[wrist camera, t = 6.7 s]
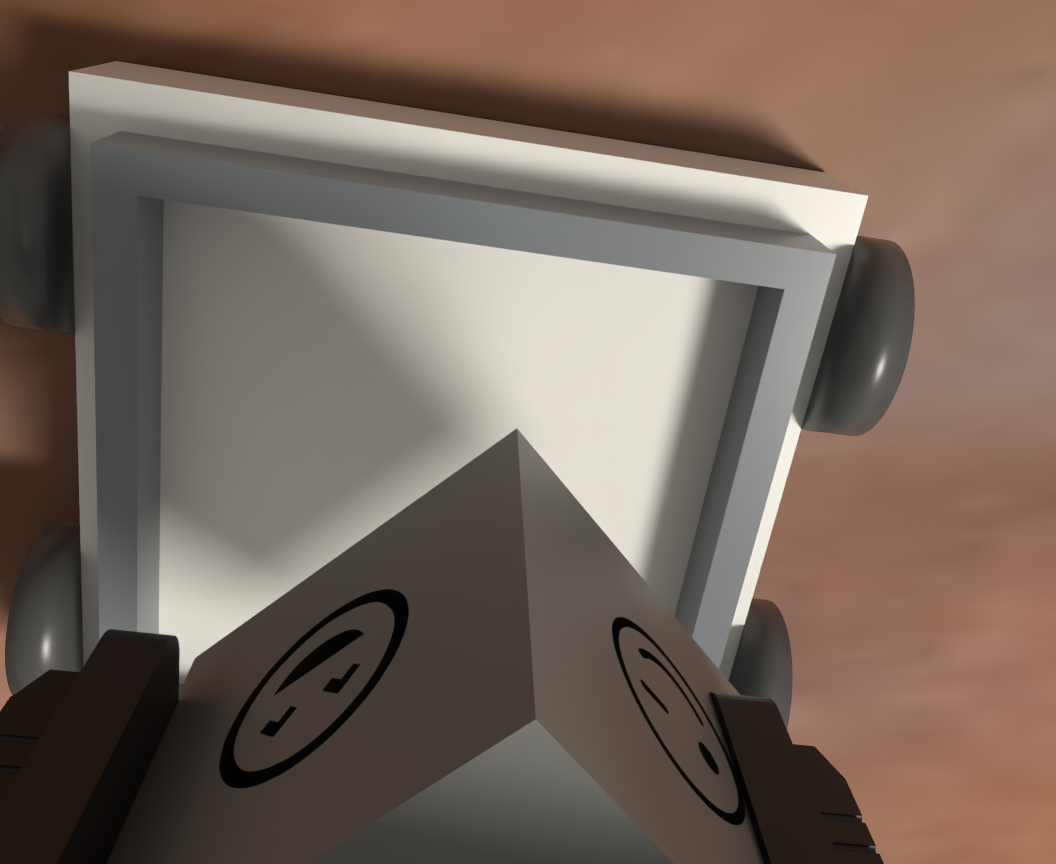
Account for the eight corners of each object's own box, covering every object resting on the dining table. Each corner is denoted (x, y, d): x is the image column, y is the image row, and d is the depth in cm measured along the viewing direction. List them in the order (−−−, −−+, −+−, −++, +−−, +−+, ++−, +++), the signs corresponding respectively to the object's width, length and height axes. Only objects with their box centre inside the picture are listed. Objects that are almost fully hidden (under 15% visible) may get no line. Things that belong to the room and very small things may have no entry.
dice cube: (751, 707, 13) (894, 1094, 8) (450, 890, 14) (431, 1320, 10) (516, 428, 11) (535, 718, 7) (195, 657, 12) (22, 1044, 8)
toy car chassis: (63, 52, 16) (-48, 71, 12) (872, 179, 17) (965, 227, 14) (79, 660, 20) (2, 791, 17) (715, 723, 22) (757, 856, 18)
